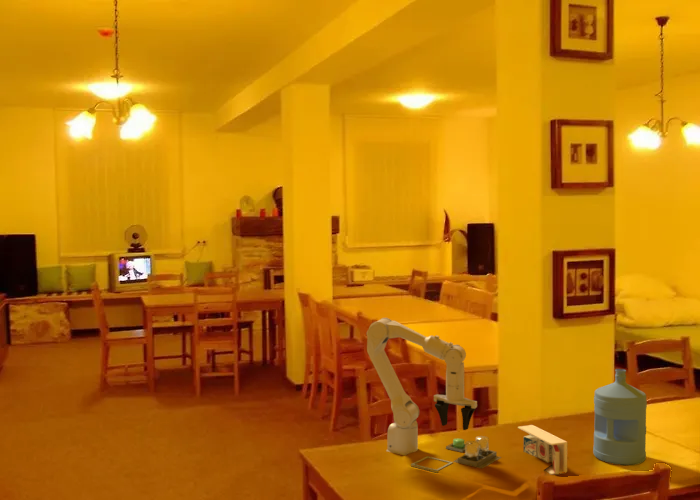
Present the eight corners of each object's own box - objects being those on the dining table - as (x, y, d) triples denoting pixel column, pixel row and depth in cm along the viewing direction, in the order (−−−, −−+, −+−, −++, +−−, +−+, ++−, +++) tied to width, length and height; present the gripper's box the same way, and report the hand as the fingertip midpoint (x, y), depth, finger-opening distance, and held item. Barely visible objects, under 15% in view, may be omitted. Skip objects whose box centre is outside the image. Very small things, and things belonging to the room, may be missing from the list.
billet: (462, 462, 227) (462, 442, 227) (470, 459, 230) (470, 440, 230) (473, 465, 224) (473, 445, 224) (481, 462, 227) (481, 442, 227)
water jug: (607, 446, 246) (608, 362, 244) (654, 457, 235) (655, 369, 233) (584, 457, 235) (585, 370, 233) (632, 469, 224) (633, 378, 222)
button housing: (445, 452, 240) (446, 446, 240) (455, 447, 245) (455, 441, 245) (462, 456, 236) (462, 449, 236) (471, 451, 241) (471, 445, 241)
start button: (451, 449, 240) (451, 440, 240) (456, 446, 243) (456, 437, 243) (460, 451, 238) (460, 442, 238) (466, 448, 241) (466, 439, 241)
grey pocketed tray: (452, 465, 228) (453, 457, 228) (472, 454, 238) (472, 446, 238) (482, 472, 222) (482, 463, 222) (501, 461, 232) (501, 452, 232)
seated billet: (473, 457, 232) (473, 438, 231) (479, 453, 235) (479, 435, 235) (484, 459, 229) (484, 440, 229) (490, 456, 232) (490, 437, 232)
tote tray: (411, 468, 225) (411, 464, 225) (427, 460, 232) (427, 456, 232) (437, 475, 219) (437, 470, 219) (452, 466, 227) (452, 462, 227)
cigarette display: (517, 455, 237) (517, 426, 237) (532, 453, 239) (532, 424, 239) (553, 476, 219) (554, 445, 218) (569, 474, 220) (570, 443, 220)
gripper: (481, 385, 232) (481, 428, 233) (441, 379, 241) (441, 420, 242) (470, 389, 227) (470, 433, 227) (430, 383, 236) (430, 425, 236)
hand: (454, 427), depth 234 cm, fingers open, 7 cm apart
